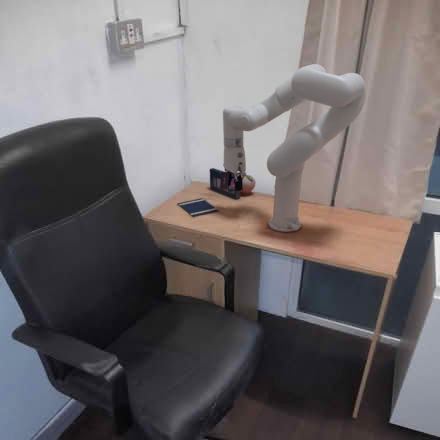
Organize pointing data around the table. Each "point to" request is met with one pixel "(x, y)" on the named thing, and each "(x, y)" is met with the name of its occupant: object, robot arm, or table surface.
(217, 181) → the vhs cassette tape
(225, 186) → the monster skateboard toy
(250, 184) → the decorative fruit
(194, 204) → the cloth
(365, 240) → the table surface
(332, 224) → the table surface
